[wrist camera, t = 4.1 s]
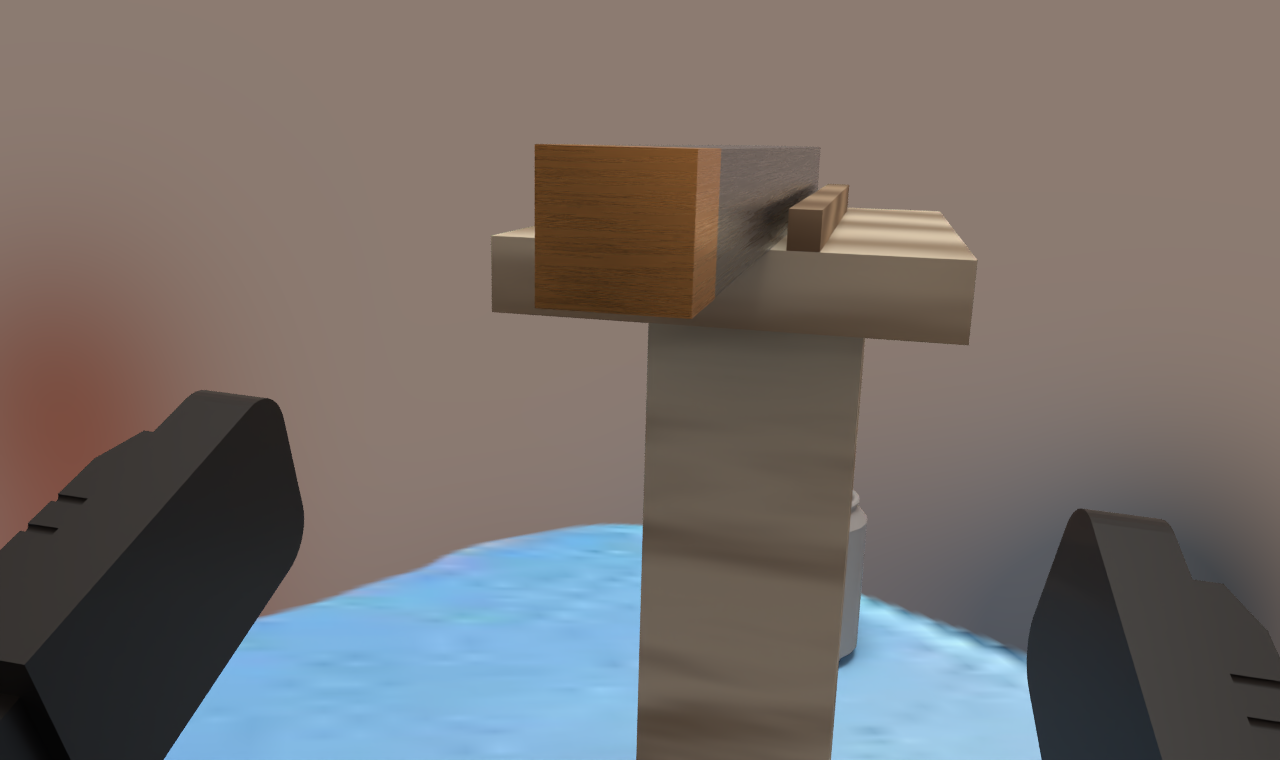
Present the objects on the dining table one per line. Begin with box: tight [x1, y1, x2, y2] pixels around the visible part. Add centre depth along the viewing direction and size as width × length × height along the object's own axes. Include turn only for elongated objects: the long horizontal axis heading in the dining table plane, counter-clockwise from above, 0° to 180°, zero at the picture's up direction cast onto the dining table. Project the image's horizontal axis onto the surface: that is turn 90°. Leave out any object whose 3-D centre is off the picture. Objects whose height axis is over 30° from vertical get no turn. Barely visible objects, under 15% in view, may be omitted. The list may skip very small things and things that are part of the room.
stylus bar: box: [535, 144, 820, 319], centre depth 27 cm, size 26×2×2 cm, turn 166°
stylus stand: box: [491, 184, 977, 760], centre depth 36 cm, size 18×14×34 cm
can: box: [839, 490, 867, 660], centre depth 70 cm, size 8×8×12 cm
